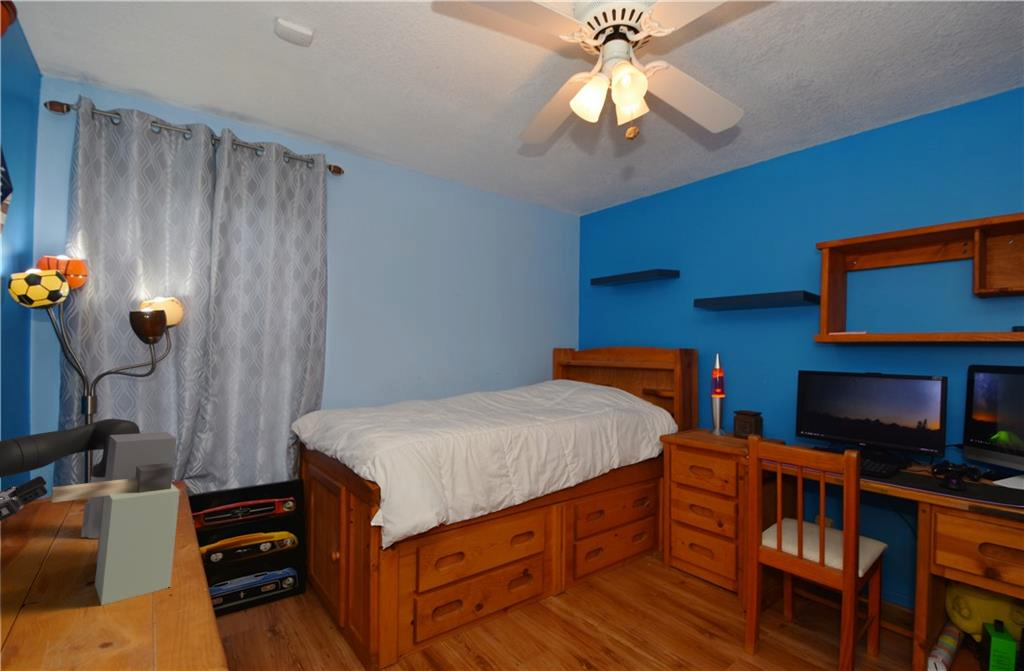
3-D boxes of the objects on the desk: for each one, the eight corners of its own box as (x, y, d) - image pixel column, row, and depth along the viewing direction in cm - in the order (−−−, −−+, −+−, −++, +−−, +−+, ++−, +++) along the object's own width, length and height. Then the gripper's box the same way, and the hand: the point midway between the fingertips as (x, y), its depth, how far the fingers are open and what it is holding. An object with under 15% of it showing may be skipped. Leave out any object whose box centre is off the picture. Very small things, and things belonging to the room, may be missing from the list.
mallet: (52, 504, 94) (54, 479, 95) (50, 497, 98) (53, 473, 99) (170, 488, 109) (173, 467, 109) (165, 483, 113) (167, 462, 113)
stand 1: (102, 578, 109) (116, 442, 111) (96, 562, 117) (109, 435, 119) (164, 564, 118) (176, 438, 120) (154, 550, 126) (166, 431, 128)
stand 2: (101, 605, 98) (112, 499, 99) (94, 585, 106) (105, 487, 107) (170, 587, 106) (179, 490, 108) (159, 570, 114) (168, 480, 116)
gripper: (-89, 534, 79) (34, 475, 90) (-77, 513, 89) (33, 462, 100) (-60, 567, 81) (57, 506, 92) (-51, 543, 91) (53, 490, 102)
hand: (44, 483), depth 96 cm, fingers open, 8 cm apart
